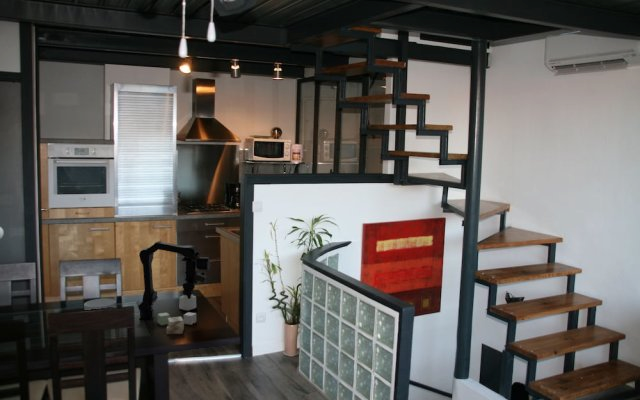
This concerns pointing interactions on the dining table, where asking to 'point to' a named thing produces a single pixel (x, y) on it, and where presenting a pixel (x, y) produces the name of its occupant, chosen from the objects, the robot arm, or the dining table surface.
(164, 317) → the sage cube
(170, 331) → the oak slab
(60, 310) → the dining table surface
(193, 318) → the grey cube
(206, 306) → the dining table surface
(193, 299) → the medicine bottle
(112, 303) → the cereal bowl
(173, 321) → the birch slab
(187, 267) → the robot arm
